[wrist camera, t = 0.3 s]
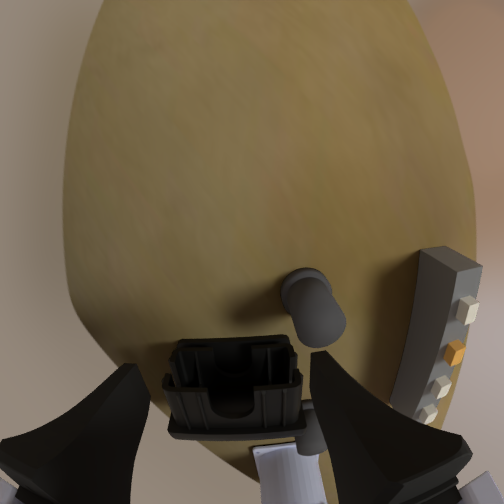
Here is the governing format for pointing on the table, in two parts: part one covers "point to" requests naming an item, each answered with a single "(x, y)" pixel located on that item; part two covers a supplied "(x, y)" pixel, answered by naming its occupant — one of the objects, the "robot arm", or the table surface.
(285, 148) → the table surface
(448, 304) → the breaker strip
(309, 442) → the dark grey cylinder
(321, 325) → the gray rounded knob
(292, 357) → the end cap
